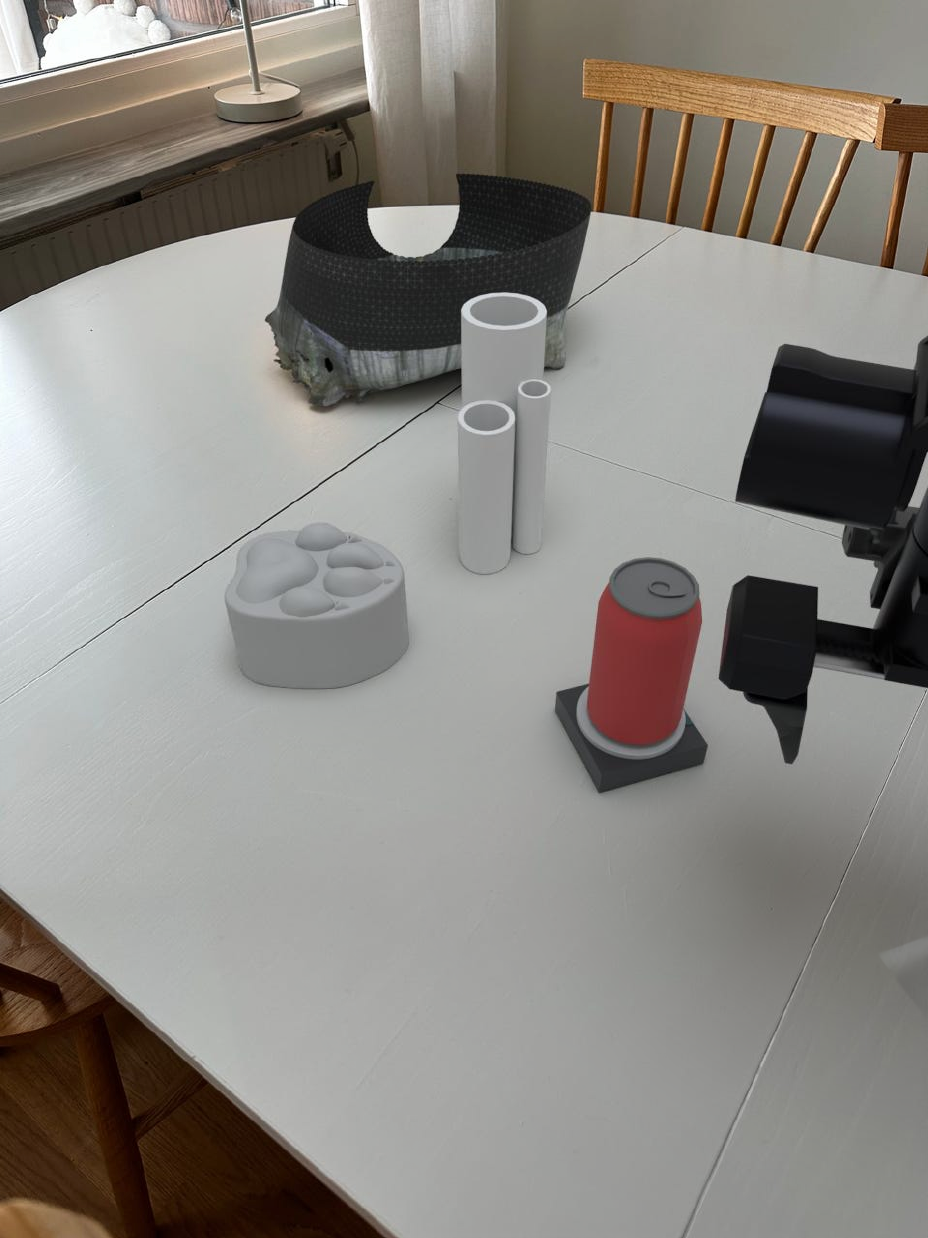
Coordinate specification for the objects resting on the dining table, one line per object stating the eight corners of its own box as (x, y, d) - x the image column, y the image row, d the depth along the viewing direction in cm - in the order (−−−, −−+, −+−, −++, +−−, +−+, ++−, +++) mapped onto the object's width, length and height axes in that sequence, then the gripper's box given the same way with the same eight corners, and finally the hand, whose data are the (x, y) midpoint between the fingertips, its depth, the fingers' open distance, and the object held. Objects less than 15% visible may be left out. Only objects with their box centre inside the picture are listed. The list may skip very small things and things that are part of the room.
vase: (463, 495, 92) (461, 291, 78) (540, 497, 92) (551, 292, 78) (458, 573, 84) (455, 360, 70) (542, 575, 83) (556, 362, 70)
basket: (296, 297, 123) (279, 162, 112) (574, 296, 123) (584, 161, 112) (260, 416, 103) (234, 264, 92) (594, 415, 102) (608, 263, 91)
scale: (652, 684, 74) (656, 661, 72) (703, 763, 68) (709, 740, 67) (554, 710, 72) (556, 686, 71) (599, 793, 67) (602, 770, 65)
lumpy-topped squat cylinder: (258, 596, 82) (241, 512, 76) (413, 598, 81) (408, 515, 75) (232, 687, 74) (211, 602, 68) (403, 690, 74) (397, 605, 68)
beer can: (673, 759, 66) (701, 630, 57) (576, 738, 67) (591, 608, 59) (686, 690, 70) (714, 561, 62) (595, 671, 72) (611, 543, 63)
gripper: (1184, 469, 45) (1047, 700, 55) (765, 413, 48) (712, 640, 59) (1258, 632, 37) (1082, 865, 47) (751, 550, 40) (693, 783, 51)
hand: (878, 775), depth 51 cm, fingers open, 9 cm apart
